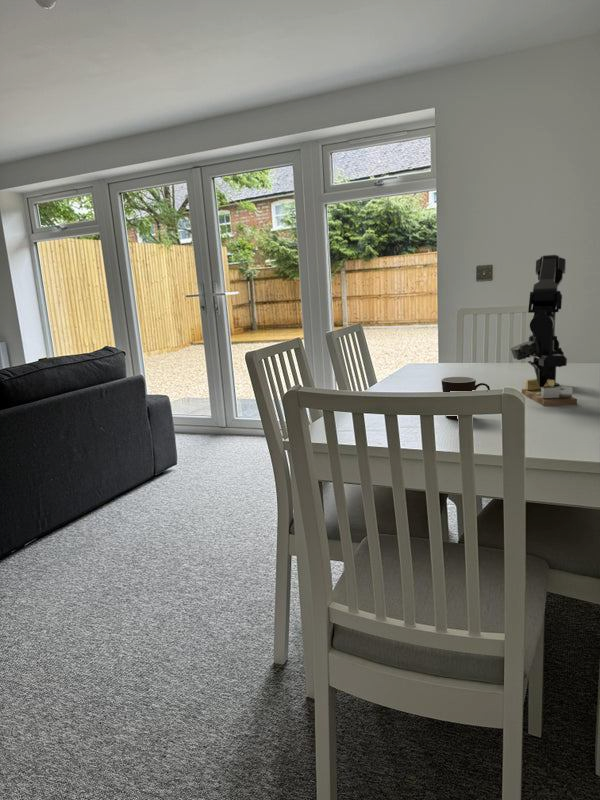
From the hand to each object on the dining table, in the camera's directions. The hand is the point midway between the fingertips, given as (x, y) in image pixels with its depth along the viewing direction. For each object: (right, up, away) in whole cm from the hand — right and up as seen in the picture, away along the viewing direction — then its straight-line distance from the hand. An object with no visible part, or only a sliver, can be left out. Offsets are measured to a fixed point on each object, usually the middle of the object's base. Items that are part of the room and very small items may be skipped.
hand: (541, 386), depth 165 cm
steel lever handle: (+2, -3, -6) cm, 7 cm away
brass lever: (+2, -1, +6) cm, 7 cm away
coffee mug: (-27, -9, -16) cm, 32 cm away
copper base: (+2, -4, +1) cm, 4 cm away
